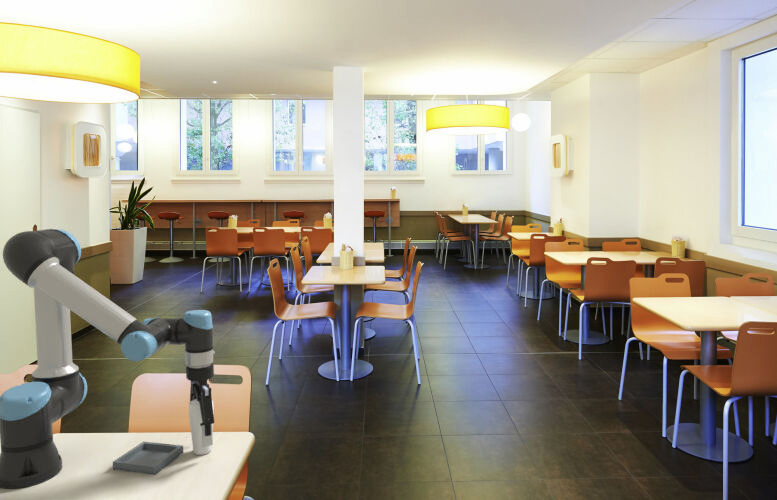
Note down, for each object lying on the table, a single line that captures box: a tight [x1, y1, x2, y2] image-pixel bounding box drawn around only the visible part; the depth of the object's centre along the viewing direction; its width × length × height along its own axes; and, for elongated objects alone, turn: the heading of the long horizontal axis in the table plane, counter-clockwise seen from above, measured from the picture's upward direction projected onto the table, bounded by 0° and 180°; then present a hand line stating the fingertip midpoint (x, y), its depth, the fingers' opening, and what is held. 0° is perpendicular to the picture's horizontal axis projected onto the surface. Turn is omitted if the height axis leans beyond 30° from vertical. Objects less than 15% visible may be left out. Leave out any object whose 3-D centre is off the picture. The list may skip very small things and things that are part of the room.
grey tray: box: [112, 441, 184, 475], centre depth 154 cm, size 13×13×2 cm
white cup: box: [188, 399, 215, 456], centre depth 160 cm, size 7×7×15 cm
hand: (202, 438), depth 160 cm, fingers open, 11 cm apart
